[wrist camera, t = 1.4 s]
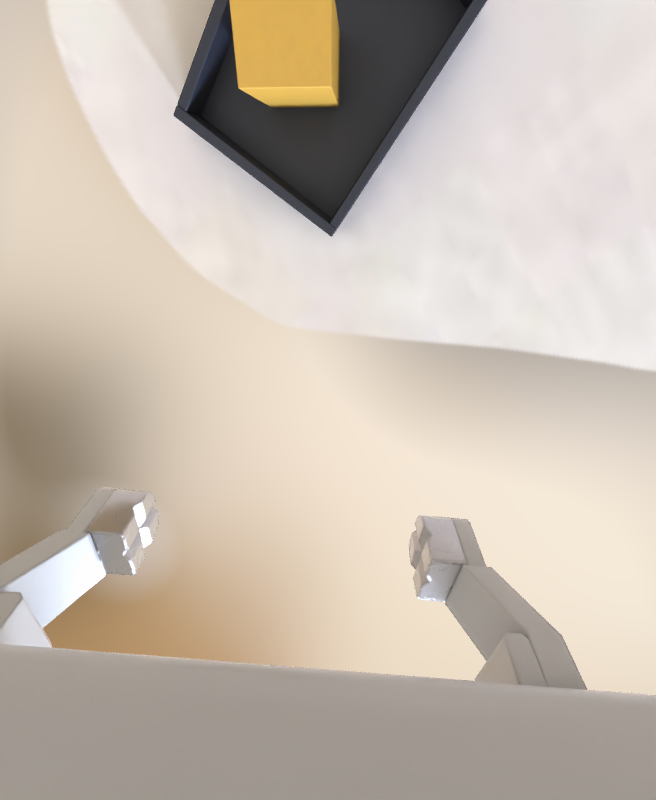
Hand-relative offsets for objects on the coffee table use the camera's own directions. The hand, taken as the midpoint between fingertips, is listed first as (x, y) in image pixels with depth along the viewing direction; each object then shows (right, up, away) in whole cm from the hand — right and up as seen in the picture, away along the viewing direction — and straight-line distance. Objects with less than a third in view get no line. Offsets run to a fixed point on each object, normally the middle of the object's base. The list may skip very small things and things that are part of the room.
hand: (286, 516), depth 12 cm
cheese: (0, +27, +15) cm, 31 cm away
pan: (+1, +27, +15) cm, 31 cm away
